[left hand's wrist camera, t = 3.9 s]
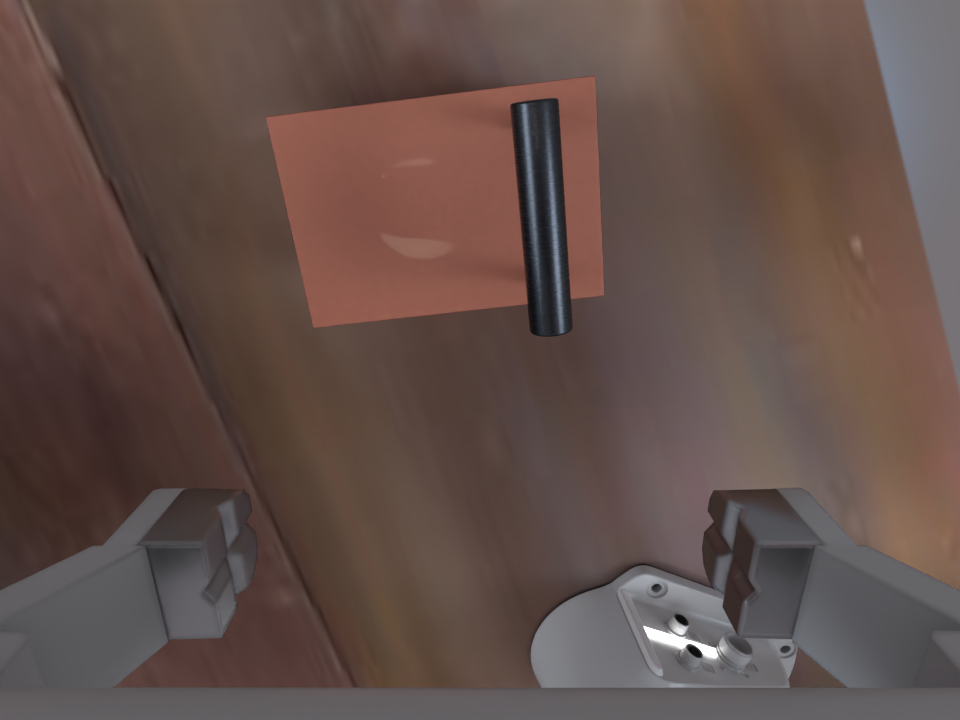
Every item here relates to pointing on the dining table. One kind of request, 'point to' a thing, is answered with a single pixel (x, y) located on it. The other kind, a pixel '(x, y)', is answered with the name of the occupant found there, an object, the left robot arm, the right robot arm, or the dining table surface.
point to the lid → (447, 204)
